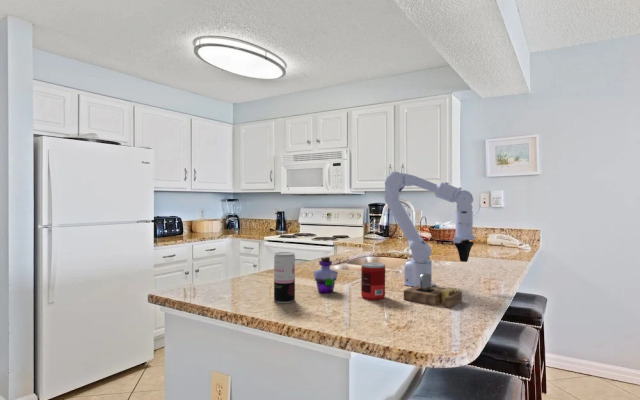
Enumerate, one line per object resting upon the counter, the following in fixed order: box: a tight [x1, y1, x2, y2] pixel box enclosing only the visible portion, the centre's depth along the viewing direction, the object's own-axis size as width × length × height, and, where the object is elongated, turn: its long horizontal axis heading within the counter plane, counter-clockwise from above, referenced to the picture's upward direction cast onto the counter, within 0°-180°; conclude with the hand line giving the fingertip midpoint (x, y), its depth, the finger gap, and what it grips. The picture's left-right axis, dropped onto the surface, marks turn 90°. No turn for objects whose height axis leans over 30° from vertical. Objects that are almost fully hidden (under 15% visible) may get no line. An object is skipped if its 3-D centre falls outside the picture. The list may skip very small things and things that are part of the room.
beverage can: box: [273, 251, 296, 304], centre depth 125 cm, size 6×6×15 cm
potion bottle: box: [312, 256, 338, 295], centre depth 137 cm, size 9×9×12 cm
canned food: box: [360, 261, 386, 301], centre depth 129 cm, size 8×8×11 cm
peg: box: [420, 273, 431, 293], centre depth 127 cm, size 4×4×8 cm
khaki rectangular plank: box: [440, 287, 457, 305], centre depth 123 cm, size 2×6×4 cm, turn 140°
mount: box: [403, 285, 463, 309], centre depth 125 cm, size 15×10×3 cm, turn 50°
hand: (463, 261), depth 142 cm, fingers closed
